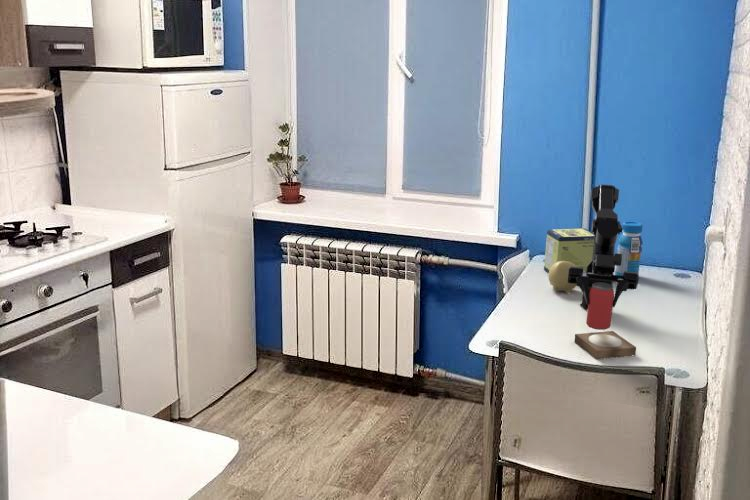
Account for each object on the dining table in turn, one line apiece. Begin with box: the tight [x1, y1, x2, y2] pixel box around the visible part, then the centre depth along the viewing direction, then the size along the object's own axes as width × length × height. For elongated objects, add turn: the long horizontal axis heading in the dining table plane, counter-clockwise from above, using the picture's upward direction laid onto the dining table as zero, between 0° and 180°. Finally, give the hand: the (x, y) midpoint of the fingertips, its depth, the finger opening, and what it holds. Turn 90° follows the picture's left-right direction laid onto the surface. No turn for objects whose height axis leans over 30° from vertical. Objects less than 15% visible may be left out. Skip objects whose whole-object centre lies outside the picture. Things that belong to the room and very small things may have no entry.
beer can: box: [585, 282, 615, 331], centre depth 211 cm, size 7×7×12 cm
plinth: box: [573, 330, 637, 360], centre depth 214 cm, size 12×12×3 cm
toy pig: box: [547, 261, 584, 294], centre depth 260 cm, size 10×12×11 cm
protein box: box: [543, 228, 594, 274], centre depth 278 cm, size 10×16×16 cm
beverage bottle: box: [614, 220, 644, 276], centre depth 275 cm, size 8×8×20 cm
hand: (600, 305), depth 210 cm, fingers closed on beer can, 6 cm apart
